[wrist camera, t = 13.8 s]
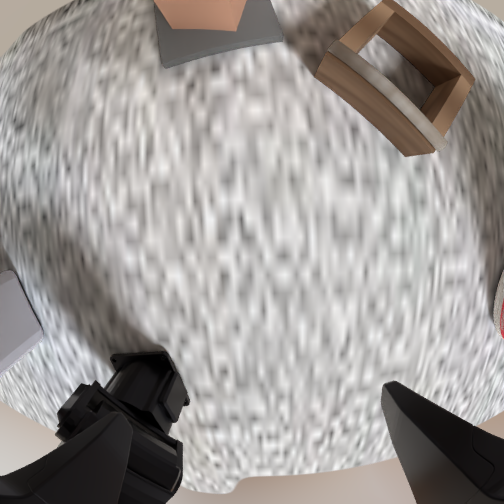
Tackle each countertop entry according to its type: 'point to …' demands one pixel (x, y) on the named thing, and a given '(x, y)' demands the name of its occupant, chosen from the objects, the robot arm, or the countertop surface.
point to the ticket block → (202, 13)
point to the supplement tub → (499, 307)
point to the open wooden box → (385, 92)
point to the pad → (218, 35)
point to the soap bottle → (15, 323)
